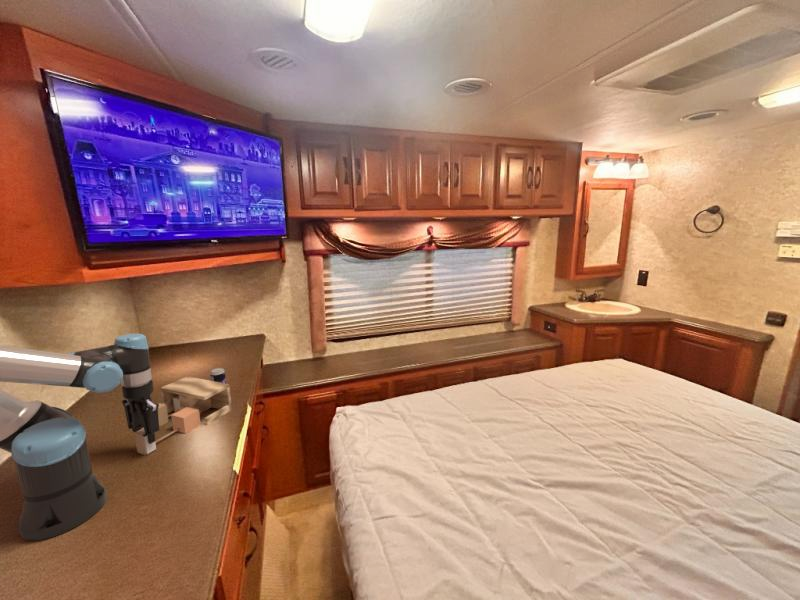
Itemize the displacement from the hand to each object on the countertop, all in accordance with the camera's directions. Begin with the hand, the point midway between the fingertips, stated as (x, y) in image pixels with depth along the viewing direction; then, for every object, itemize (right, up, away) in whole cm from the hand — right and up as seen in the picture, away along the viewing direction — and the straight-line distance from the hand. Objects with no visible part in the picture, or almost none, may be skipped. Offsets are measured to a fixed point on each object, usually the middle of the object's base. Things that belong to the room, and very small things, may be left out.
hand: (146, 449), depth 103 cm
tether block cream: (-5, +4, +21) cm, 22 cm away
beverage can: (+3, +6, +37) cm, 38 cm away
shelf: (+2, +4, +24) cm, 24 cm away
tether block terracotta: (+2, +1, +7) cm, 8 cm away
